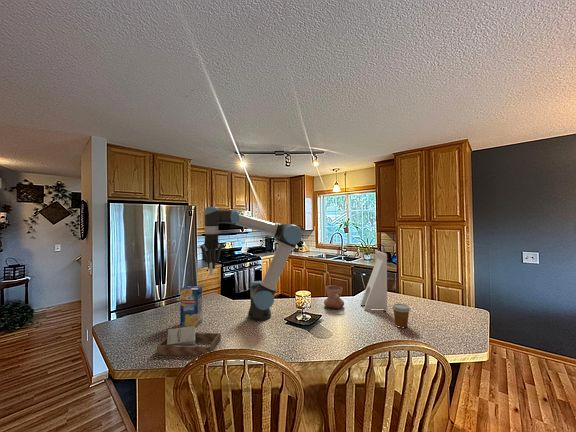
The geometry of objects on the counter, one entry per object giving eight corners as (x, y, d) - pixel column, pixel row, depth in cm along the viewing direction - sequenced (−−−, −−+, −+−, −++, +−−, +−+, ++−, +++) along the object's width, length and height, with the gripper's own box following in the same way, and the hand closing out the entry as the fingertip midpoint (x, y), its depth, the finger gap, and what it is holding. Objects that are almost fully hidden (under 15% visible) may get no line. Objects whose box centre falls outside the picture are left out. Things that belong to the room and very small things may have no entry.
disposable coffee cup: (410, 324, 154) (409, 304, 154) (410, 331, 145) (410, 309, 145) (393, 321, 158) (392, 302, 158) (392, 328, 149) (392, 307, 149)
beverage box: (197, 326, 153) (197, 289, 153) (180, 325, 153) (180, 289, 154) (202, 321, 160) (202, 286, 160) (185, 321, 160) (185, 286, 160)
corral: (220, 340, 135) (220, 332, 135) (210, 355, 120) (210, 347, 120) (173, 339, 136) (173, 331, 136) (156, 354, 121) (156, 346, 121)
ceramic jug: (347, 310, 177) (347, 290, 177) (327, 311, 175) (327, 290, 176) (339, 302, 195) (339, 284, 195) (321, 303, 193) (321, 284, 194)
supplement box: (195, 340, 125) (166, 345, 121) (195, 344, 131) (168, 349, 126) (195, 325, 130) (167, 329, 125) (195, 329, 135) (169, 333, 131)
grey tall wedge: (357, 303, 193) (357, 250, 193) (376, 303, 193) (376, 250, 193) (366, 312, 173) (365, 254, 173) (387, 312, 173) (386, 253, 173)
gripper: (224, 233, 150) (224, 273, 150) (203, 233, 151) (203, 272, 151) (220, 233, 143) (220, 275, 143) (197, 233, 144) (197, 275, 144)
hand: (211, 274), depth 147 cm, fingers closed
